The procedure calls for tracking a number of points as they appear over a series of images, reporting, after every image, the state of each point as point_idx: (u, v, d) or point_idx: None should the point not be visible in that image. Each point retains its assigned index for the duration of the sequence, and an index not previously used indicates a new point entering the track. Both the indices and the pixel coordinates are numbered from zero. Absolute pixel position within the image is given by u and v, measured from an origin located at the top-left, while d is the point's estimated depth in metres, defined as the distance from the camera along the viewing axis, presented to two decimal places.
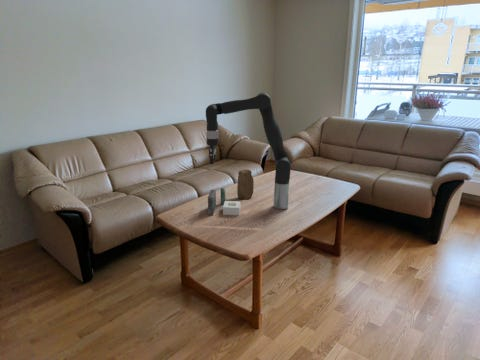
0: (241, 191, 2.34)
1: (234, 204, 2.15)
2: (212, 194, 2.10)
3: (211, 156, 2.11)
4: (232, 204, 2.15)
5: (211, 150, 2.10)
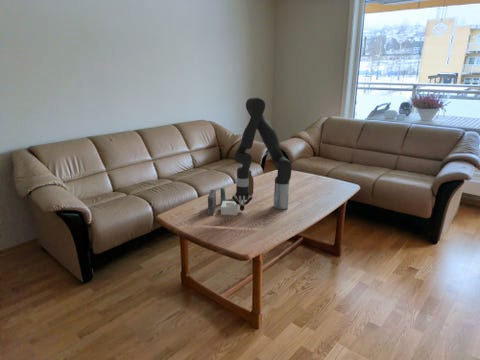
0: None
1: (232, 204, 2.15)
2: (212, 194, 2.10)
3: None
4: (230, 204, 2.16)
5: None
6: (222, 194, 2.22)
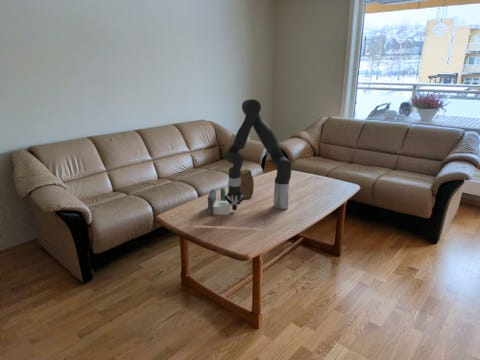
0: (241, 191, 2.34)
1: (225, 204, 2.16)
2: (212, 194, 2.10)
3: None
4: (223, 204, 2.16)
5: None
6: (222, 194, 2.22)
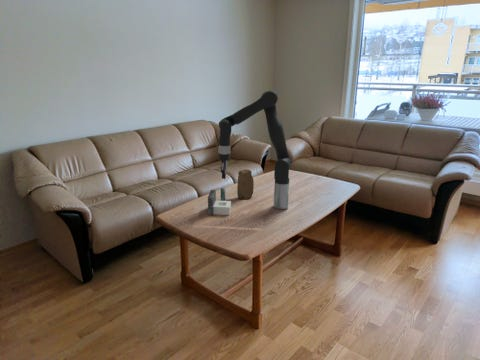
0: (241, 191, 2.34)
1: (225, 204, 2.16)
2: (212, 194, 2.10)
3: None
4: (223, 204, 2.16)
5: None
6: (222, 194, 2.22)
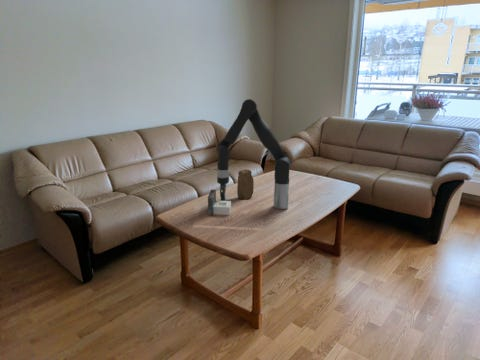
0: (241, 191, 2.34)
1: (225, 204, 2.16)
2: (212, 194, 2.10)
3: None
4: (223, 204, 2.16)
5: None
6: (222, 194, 2.22)
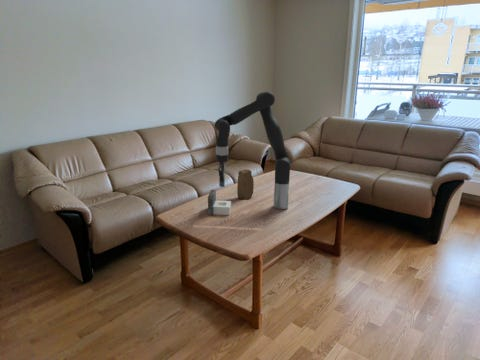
0: (241, 191, 2.34)
1: (225, 204, 2.16)
2: (212, 194, 2.10)
3: None
4: (223, 204, 2.16)
5: None
6: (221, 173, 2.07)
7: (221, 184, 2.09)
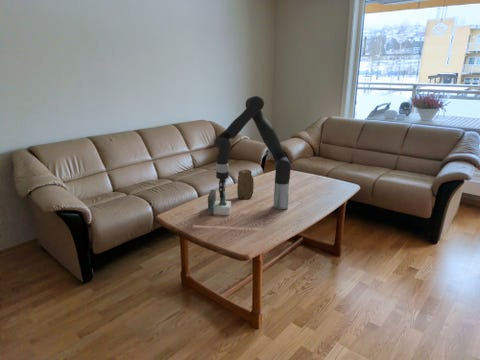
0: (241, 191, 2.34)
1: (225, 204, 2.16)
2: (212, 194, 2.10)
3: None
4: None
5: None
6: (222, 198, 2.10)
7: None
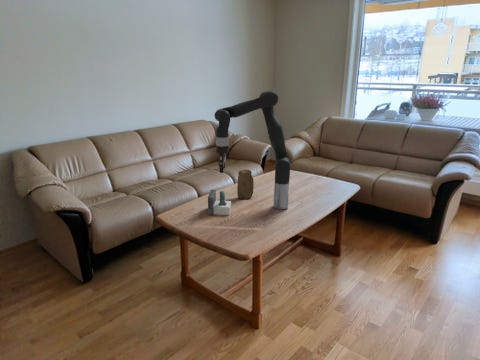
0: (241, 191, 2.34)
1: (225, 204, 2.16)
2: (212, 194, 2.10)
3: None
4: None
5: None
6: (221, 198, 2.10)
7: None
